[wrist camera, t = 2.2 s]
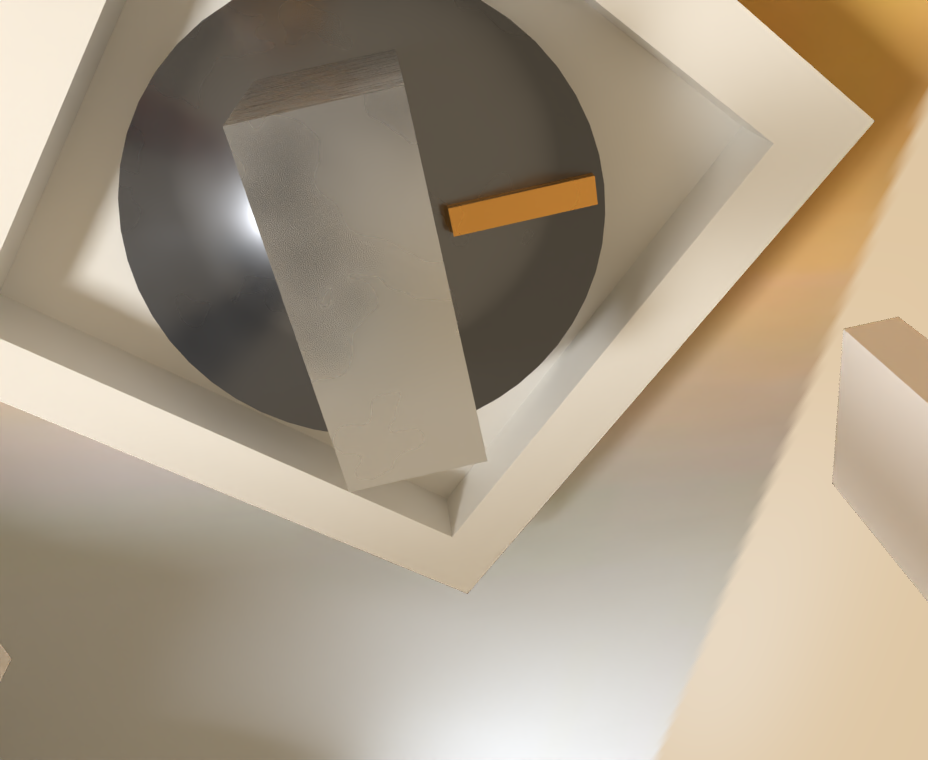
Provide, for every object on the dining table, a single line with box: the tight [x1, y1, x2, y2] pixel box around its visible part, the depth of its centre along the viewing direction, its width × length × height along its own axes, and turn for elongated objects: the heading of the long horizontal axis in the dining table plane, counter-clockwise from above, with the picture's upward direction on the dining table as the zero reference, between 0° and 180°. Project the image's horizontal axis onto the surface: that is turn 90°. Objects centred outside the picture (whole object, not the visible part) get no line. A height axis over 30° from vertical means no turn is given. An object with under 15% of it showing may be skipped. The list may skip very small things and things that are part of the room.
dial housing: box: [0, 0, 874, 594], centre depth 23 cm, size 20×20×4 cm
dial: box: [118, 0, 605, 492], centre depth 20 cm, size 13×13×7 cm
